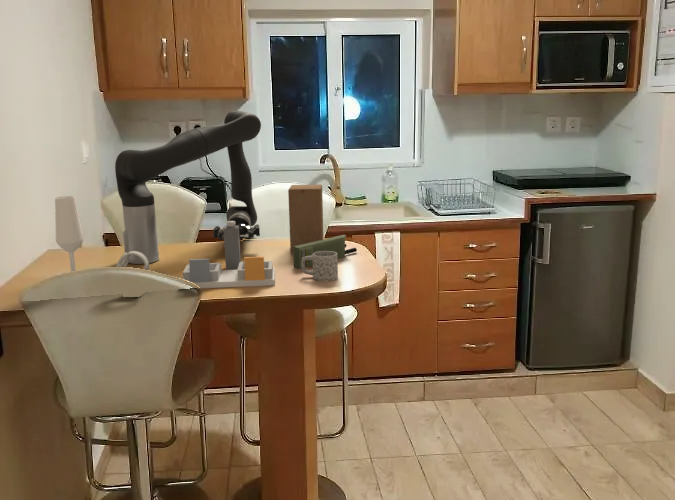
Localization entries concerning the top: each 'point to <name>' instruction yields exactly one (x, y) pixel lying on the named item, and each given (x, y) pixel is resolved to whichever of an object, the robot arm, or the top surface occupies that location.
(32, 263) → the top surface
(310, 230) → the wooden block
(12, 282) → the top surface
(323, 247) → the handheld radio
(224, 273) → the charging dock
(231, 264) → the plug
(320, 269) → the mug
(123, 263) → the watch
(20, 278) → the top surface
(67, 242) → the champagne flute
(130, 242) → the robot arm
